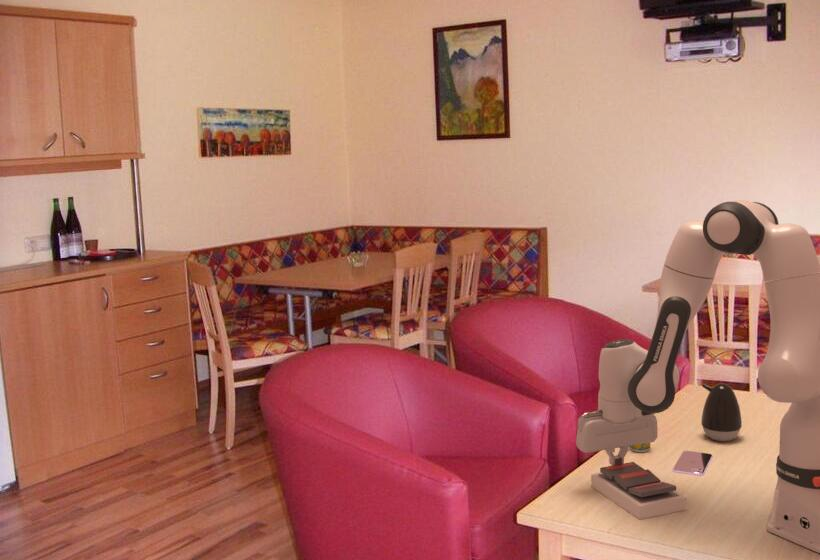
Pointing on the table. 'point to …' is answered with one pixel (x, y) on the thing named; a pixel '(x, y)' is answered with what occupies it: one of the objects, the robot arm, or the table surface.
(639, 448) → the supplement bottle
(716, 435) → the pump dispenser
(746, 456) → the table surface
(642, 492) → the rocker
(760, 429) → the table surface
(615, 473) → the block
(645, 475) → the rocker
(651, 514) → the rocker switch panel
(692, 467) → the mobile phone
